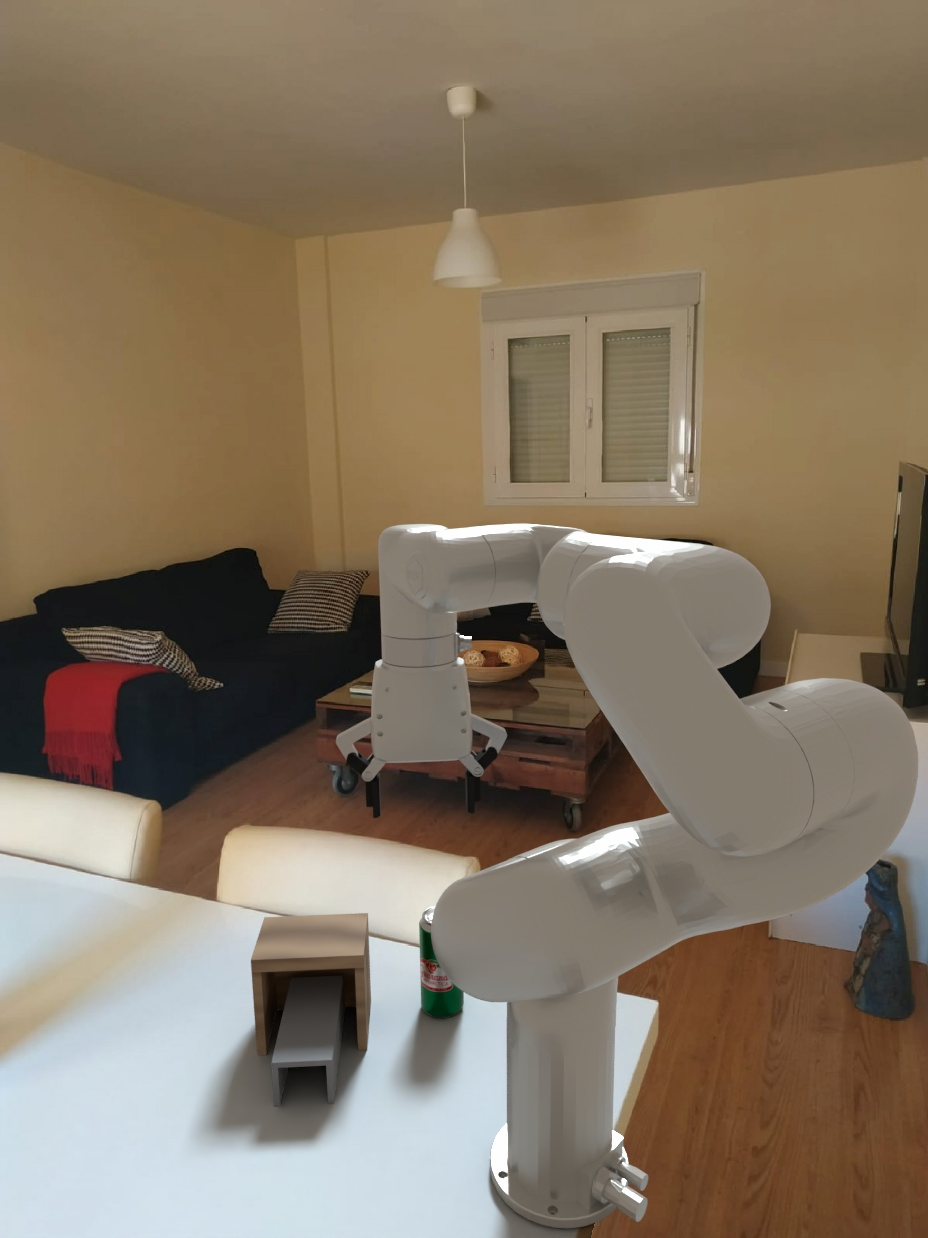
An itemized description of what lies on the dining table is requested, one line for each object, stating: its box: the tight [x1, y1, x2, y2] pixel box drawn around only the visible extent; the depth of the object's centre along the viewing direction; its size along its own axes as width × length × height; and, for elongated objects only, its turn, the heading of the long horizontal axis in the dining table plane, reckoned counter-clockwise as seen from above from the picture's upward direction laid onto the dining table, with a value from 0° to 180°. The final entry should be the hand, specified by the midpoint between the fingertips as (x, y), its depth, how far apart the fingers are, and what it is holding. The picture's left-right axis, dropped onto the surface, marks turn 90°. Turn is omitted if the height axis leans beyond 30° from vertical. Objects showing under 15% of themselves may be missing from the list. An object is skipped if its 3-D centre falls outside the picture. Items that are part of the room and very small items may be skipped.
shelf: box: [250, 912, 372, 1056], centre depth 97 cm, size 8×12×12 cm
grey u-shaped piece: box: [271, 975, 346, 1107], centre depth 93 cm, size 14×6×5 cm, turn 3°
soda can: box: [418, 905, 465, 1019], centre depth 100 cm, size 5×5×12 cm
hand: (423, 810), depth 89 cm, fingers open, 9 cm apart
